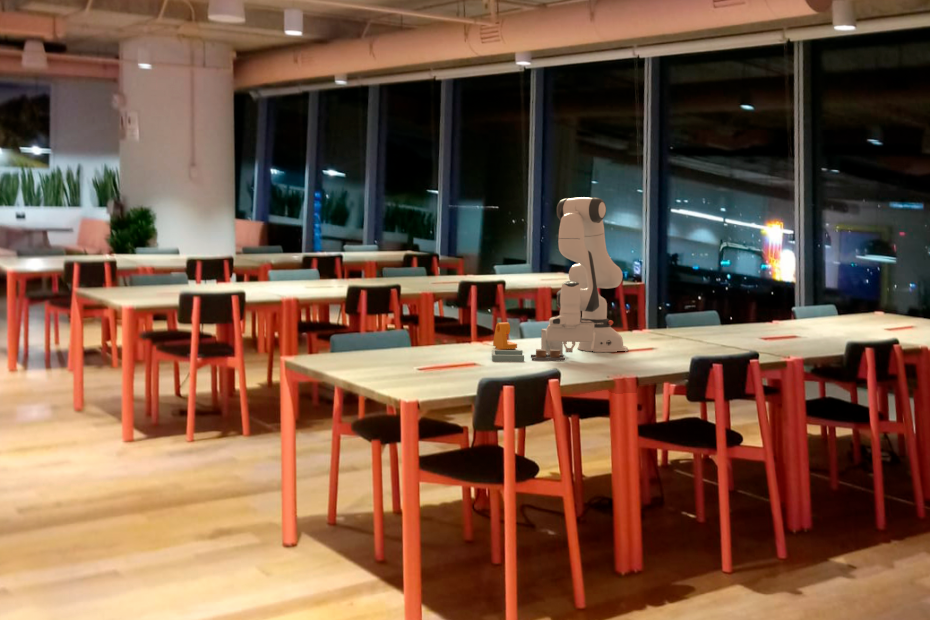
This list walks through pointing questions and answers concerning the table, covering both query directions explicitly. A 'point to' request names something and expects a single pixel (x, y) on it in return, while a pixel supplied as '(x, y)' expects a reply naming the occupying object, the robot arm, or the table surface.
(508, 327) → the bracket
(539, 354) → the chip
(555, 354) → the chip
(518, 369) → the table surface
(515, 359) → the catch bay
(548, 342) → the skincare box
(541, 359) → the slot rails
